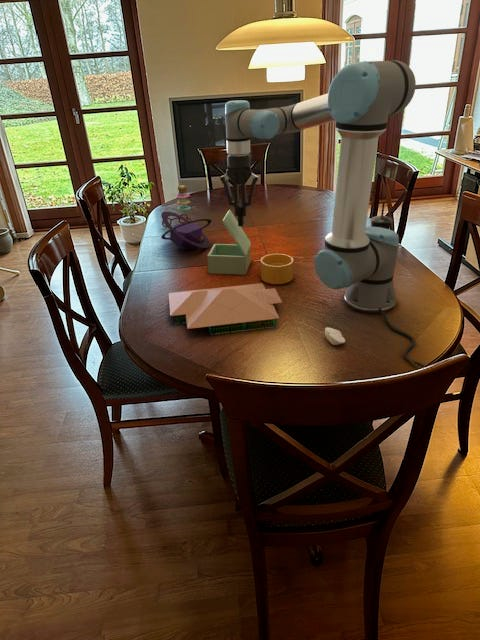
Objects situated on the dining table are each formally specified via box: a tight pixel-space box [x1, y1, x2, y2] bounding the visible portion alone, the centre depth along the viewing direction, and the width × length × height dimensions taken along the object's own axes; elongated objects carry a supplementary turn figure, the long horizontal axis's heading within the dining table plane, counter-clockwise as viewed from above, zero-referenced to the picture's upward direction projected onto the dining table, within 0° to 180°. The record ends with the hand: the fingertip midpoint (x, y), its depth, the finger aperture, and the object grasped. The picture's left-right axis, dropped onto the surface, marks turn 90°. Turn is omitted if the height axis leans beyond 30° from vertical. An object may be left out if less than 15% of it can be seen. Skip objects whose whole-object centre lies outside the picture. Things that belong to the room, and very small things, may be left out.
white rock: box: [324, 326, 346, 346], centre depth 118 cm, size 7×5×4 cm
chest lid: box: [221, 209, 252, 256], centre depth 156 cm, size 14×12×1 cm
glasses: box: [161, 213, 199, 228], centre depth 201 cm, size 13×13×5 cm
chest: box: [206, 243, 252, 276], centre depth 162 cm, size 14×12×7 cm
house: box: [168, 282, 283, 335], centre depth 132 cm, size 23×33×8 cm
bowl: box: [260, 253, 295, 285], centre depth 152 cm, size 11×11×7 cm
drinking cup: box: [370, 201, 393, 230], centre depth 164 cm, size 8×8×20 cm
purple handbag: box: [160, 184, 212, 252], centre depth 175 cm, size 22×21×25 cm
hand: (241, 225), depth 154 cm, fingers closed
